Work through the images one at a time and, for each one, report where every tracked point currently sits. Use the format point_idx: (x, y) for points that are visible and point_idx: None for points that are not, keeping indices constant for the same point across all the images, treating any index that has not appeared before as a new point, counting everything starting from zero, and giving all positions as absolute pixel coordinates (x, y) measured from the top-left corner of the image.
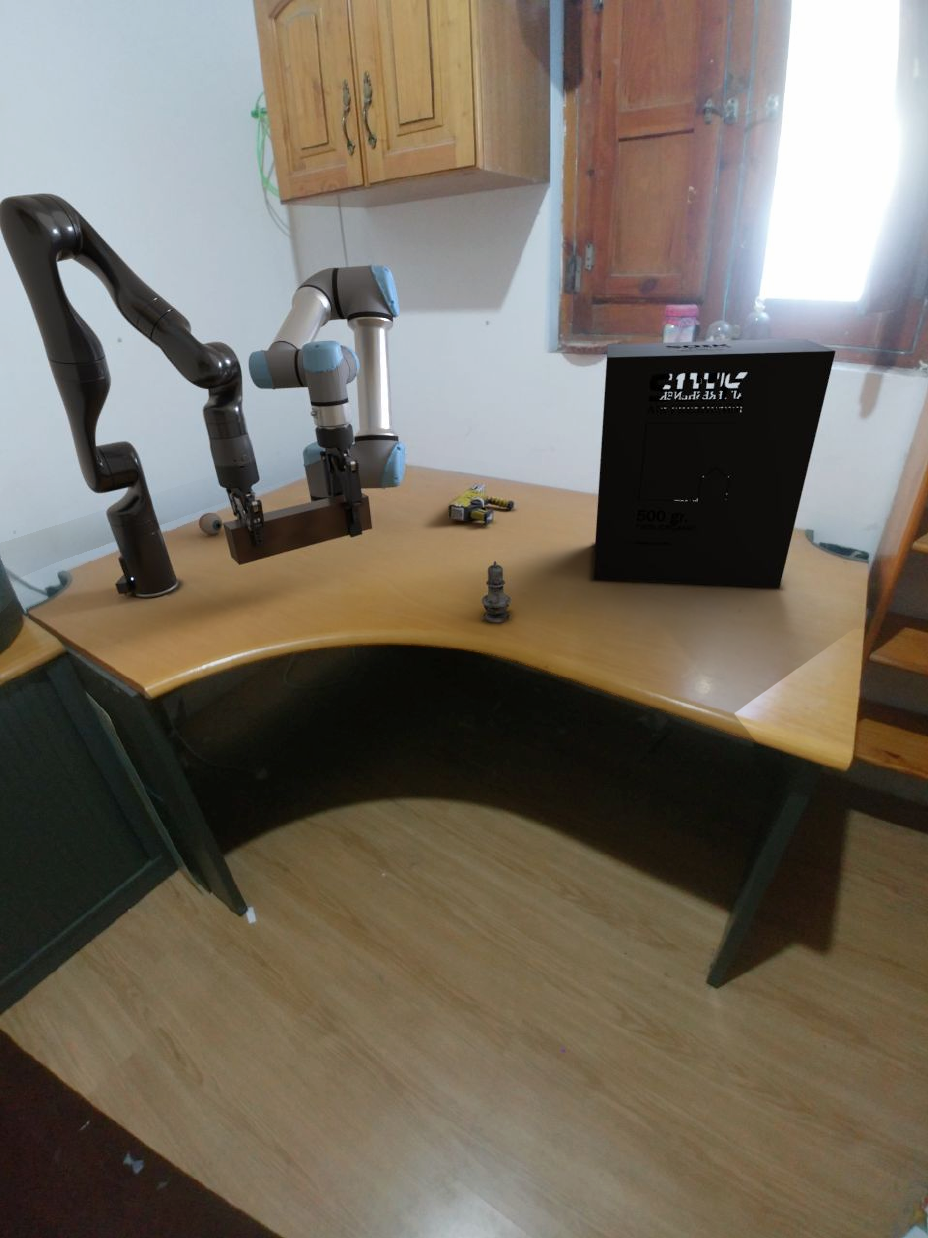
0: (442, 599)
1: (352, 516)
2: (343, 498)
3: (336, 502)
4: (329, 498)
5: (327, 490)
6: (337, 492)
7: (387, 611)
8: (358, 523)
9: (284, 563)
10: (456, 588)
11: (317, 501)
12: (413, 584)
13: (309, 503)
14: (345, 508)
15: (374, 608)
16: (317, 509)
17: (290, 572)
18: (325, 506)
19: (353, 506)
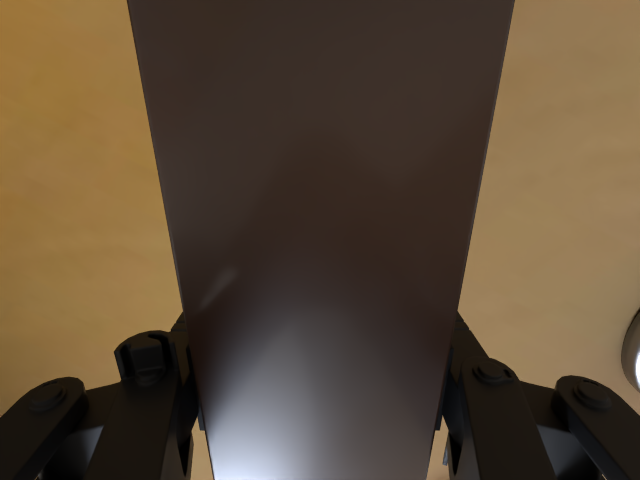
0: (46, 305)
1: (186, 330)
2: (307, 426)
3: (229, 336)
4: (421, 339)
5: (628, 421)
6: (461, 458)
7: (46, 164)
8: None
9: (620, 52)
10: (88, 355)
11: (436, 191)
12: (168, 296)
13: (448, 55)
14: (142, 340)
15: (83, 143)
16: (136, 46)
17: (528, 35)
18: (160, 183)
19: (23, 398)
